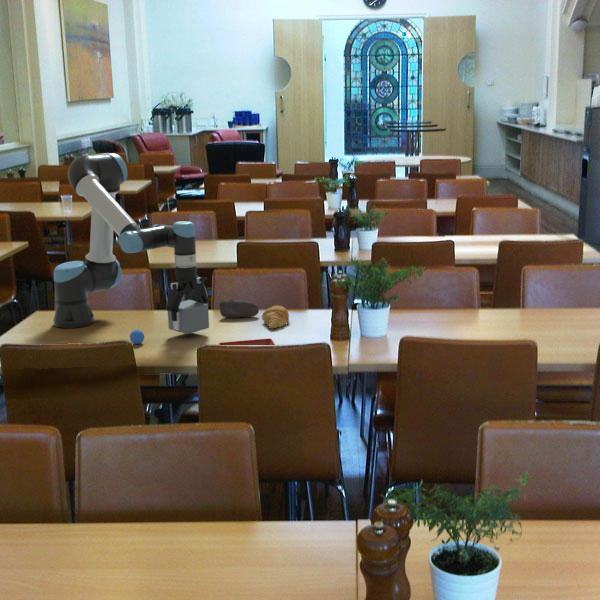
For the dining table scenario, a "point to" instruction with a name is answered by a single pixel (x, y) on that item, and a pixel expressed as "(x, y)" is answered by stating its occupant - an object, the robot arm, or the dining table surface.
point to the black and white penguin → (189, 294)
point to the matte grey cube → (191, 317)
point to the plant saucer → (250, 342)
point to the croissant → (275, 316)
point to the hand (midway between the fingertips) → (188, 326)
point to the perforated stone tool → (238, 309)
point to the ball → (137, 336)
